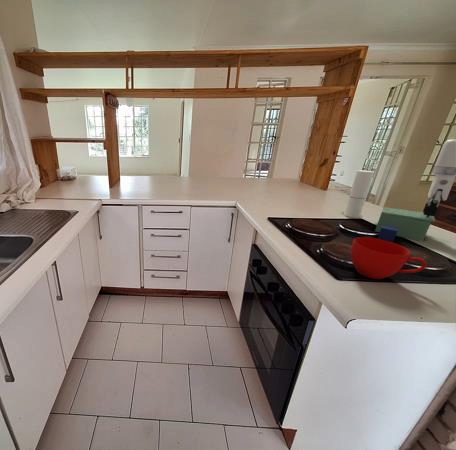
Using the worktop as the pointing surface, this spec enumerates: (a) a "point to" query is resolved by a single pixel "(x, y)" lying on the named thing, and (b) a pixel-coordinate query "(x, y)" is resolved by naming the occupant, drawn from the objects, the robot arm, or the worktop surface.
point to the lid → (407, 214)
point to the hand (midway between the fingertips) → (428, 213)
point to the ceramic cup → (380, 258)
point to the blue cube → (387, 233)
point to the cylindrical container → (358, 193)
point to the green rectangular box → (405, 226)
